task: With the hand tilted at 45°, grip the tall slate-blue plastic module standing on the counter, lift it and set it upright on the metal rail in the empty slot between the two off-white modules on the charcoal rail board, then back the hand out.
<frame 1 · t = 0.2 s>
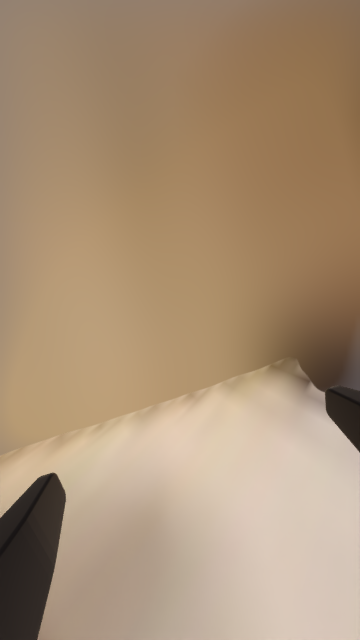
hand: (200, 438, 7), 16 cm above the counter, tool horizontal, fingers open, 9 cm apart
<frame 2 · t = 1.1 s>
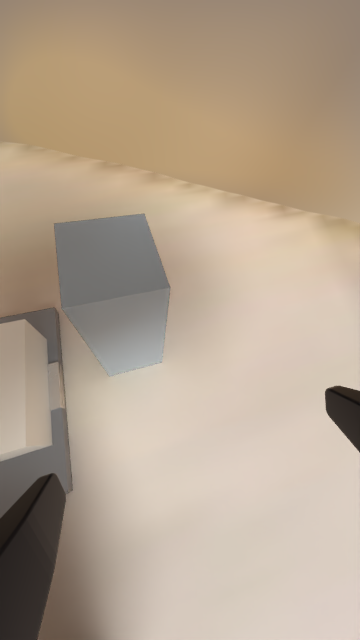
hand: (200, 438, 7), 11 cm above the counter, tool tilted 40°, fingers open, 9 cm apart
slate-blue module: (130, 342, 20), on the counter
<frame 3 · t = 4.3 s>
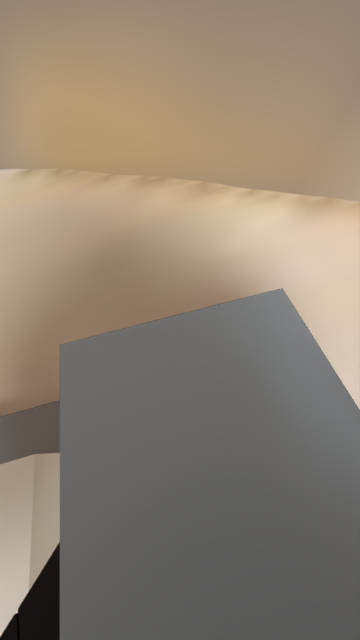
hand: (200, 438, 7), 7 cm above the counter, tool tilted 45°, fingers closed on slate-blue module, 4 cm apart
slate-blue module: (198, 449, 13), on the counter, touching gripper
when the fingers open (9 cm above the counter, at t = 8.6 s): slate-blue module drops 1 cm, resting on rail board.
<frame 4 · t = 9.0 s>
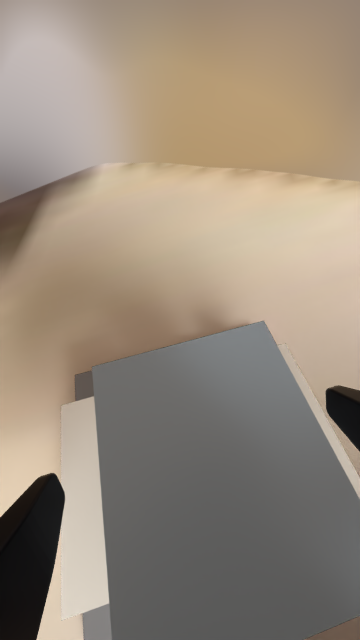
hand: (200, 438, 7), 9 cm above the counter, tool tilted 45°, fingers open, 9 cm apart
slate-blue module: (198, 450, 14), point 1 cm above the counter, touching rail board
rail board: (197, 448, 15), on the counter
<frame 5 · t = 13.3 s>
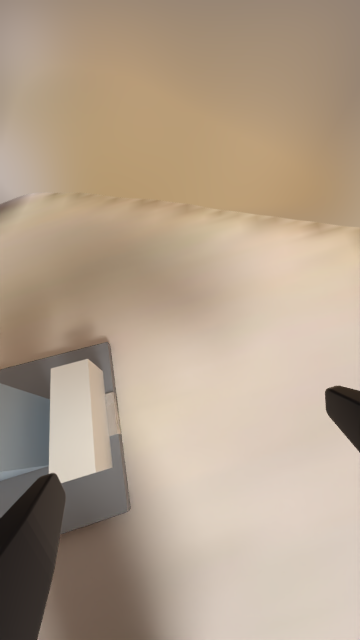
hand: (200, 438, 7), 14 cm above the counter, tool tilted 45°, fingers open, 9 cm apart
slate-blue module: (26, 438, 19), point 1 cm above the counter, touching rail board
rail board: (34, 437, 20), on the counter
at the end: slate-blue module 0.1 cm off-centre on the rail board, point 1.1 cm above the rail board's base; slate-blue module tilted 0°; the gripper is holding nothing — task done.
